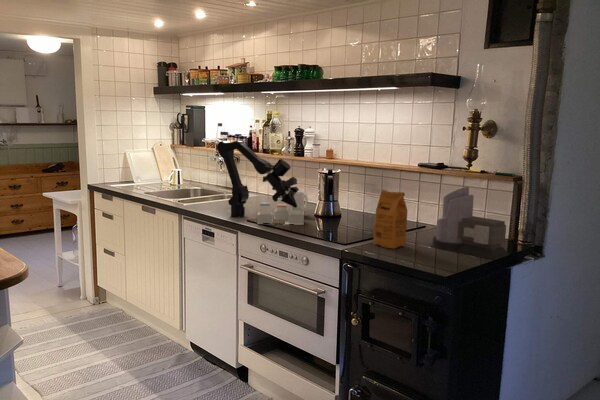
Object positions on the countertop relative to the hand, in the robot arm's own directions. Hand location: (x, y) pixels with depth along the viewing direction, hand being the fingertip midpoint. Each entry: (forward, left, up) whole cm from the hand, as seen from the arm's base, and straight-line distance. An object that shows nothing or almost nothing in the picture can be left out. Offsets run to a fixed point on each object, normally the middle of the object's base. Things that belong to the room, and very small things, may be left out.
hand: (296, 206), depth 249 cm
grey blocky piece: (+67, -50, -8) cm, 84 cm away
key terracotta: (-7, +8, -7) cm, 13 cm away
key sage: (0, 0, -6) cm, 6 cm away
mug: (+2, +21, -8) cm, 23 cm away
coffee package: (+38, -46, -8) cm, 60 cm away
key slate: (-15, -2, -4) cm, 16 cm away
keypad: (-7, +3, -8) cm, 11 cm away
